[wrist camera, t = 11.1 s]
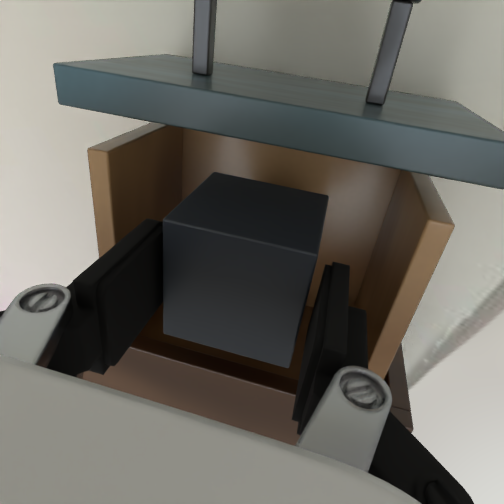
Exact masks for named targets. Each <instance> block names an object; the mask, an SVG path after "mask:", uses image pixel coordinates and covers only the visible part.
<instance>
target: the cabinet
mask: <svg viewBox="0 0 504 504" xmlns="http://www.w3.org/2000/svg"><path fill="white" fill-rule="evenodd" d="M82 379H83V380H86V381H89V382H93V383H96V384H99V385H102V386H106V387H109V388H112V389H115V390H119V391H122V392H125V393H128V394H132V395H135V396H138V397H141V398H144V399H148V400H151V401H154V402H157V403H161V404H164V405H167V406H170V407H173V408H177V409H180V410H183V411H186V412H189V413H193V414H196V415H199V416H202V417H205V418H208V419H212V420H215V421H218V422H221V423H224V424H227V425H231V426H234V427H237V428H240V429H243V430H246V431H250V432H253V433H256V434H259V435H262V436H265V437H269V438H272V439H275V440H278V441H281V442H284V443H287V444H290V445H293V446H295V445H296V443H297V441H298V439H299V437H300V435H298V434H297V428H298V422H297V421H293V420H292V415H293V409H294V403H295V397H296V392H297V386H298V380H296V379H293V378H289V377H286V376H282V375H279V374H275V373H272V372H268V371H265V370H261V369H258V368H254V367H251V366H247V365H244V364H240V363H236V362H233V361H229V360H226V359H222V358H219V357H215V356H212V355H208V354H205V353H201V352H198V351H194V350H191V349H187V348H184V347H180V346H177V345H173V344H169V343H166V342H162V341H159V340H155V339H152V338H148V337H145V336H141V335H138V336H137V337H136V339H135V340H134V341H133V343H132V344H131V346H130V347H129V348H128V350H127V351H126V352H125V354H124V355H123V356H122V358H121V359H120V360H119V362H118V363H117V364H116V365H115V366H110V367H109V368H108V370H107V371H106V372H105V374H104V375H101V374H98V373H95V372H92V371H86V372H84V374H83V378H82ZM384 381H385V382H386V384H387V385H388V387H389V388H390V391H391V394H392V404H391V407H390V410H389V411H390V412H391V413H392V414H393V415H394V416H395V417H396V418H397V419H398V420H399V421H400V422H401V423H402V424H403V425H404V426H405V427H406V428H407V429H408V430H409V431H410V433H412V431H413V423H412V416H411V410H410V409H411V408H410V401H409V395H408V387H407V380H406V373H405V366H404V359H403V352H402V345H401V344H400V346H399V348H398V350H397V352H396V354H395V357H394V359H393V361H392V363H391V365H390V367H389V369H388V372H387V374H386V376H385V378H384Z"/></svg>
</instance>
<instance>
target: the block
mask: <svg viewBox="0 0 504 504" xmlns="http://www.w3.org/2000/svg"><path fill="white" fill-rule="evenodd" d="M328 200H329V196H328V195H324V194H319V193H314V192H309V191H305V190H300V189H295V188H290V187H285V186H281V185H276V184H271V183H266V182H261V181H257V180H252V179H247V178H242V177H237V176H233V175H228V174H223V173H218V172H213V173H212V174H211V175H210V176H209V177H208V178H207V179H206V180H204V181H203V182H202V183H201V184H200V185H199V186H198V187H197V188H196V189H195V190H194V191H193V192H191V193H190V194H189V195H188V196H187V197H186V198H185V199H184V200H183V201H182V202H181V203H180V204H179V205H177V206H176V207H175V208H174V209H173V210H172V211H171V212H170V213H169V214H168V215H167V216H166V217H165V218H163V333H164V334H167V335H170V336H174V337H178V338H181V339H185V340H188V341H192V342H195V343H199V344H203V345H206V346H210V347H213V348H217V349H220V350H224V351H228V352H231V353H235V354H238V355H242V356H245V357H249V358H252V359H256V360H260V361H263V362H267V363H270V364H274V365H277V366H281V367H285V368H289V367H290V364H291V360H292V356H293V352H294V348H295V344H296V340H297V337H298V333H299V329H300V325H301V321H302V317H303V313H304V309H305V305H306V302H307V298H308V294H309V290H310V286H311V282H312V278H313V274H314V270H315V267H316V263H317V259H318V254H319V249H320V243H321V238H322V233H323V227H324V222H325V216H326V211H327V205H328Z"/></svg>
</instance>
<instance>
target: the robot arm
mask: <svg viewBox="0 0 504 504" xmlns="http://www.w3.org/2000/svg"><path fill="white" fill-rule="evenodd" d="M349 277H350V265H346V264H342V263H337V262H332V265H327V264H325V267H324V271H323V274H322V278H321V282H320V285H319V289H318V293H317V296H316V300H315V304H314V307H313V311H312V315H311V318H310V322H309V326H308V330H307V335H306V340H305V346H304V352H303V357H302V363H301V369H300V375H299V380H298V386H297V392H296V397H295V403H294V409H293V415H292V420H293V421H297V422H298V428H297V434H298V435H300V437H299V439H298V441H297V443H296V445H295V446H293V445H290V444H287V443H284V442H281V441H278V440H275V439H272V438H269V437H265V436H262V435H259V434H256V433H253V432H250V431H246V430H243V429H240V428H237V427H234V426H231V425H227V424H224V423H221V422H218V421H215V420H212V419H208V418H205V417H202V416H199V415H196V414H193V413H189V412H186V411H183V410H180V409H177V408H173V407H170V406H167V405H164V404H161V403H157V402H154V401H151V400H148V399H144V398H141V397H138V396H135V395H132V394H128V393H125V392H122V391H119V390H115V389H112V388H109V387H106V386H102V385H99V384H96V383H93V382H89V381H86V380H83V379H82V378H83V374H84V372H86V371H92V372H95V373H98V374H101V375H104V374H105V372H106V371H107V370H108V368H109V367H110V366H115V365H116V364H117V363H118V362H119V360H120V359H121V358H122V356H123V355H124V354H125V352H126V351H127V350H128V348H129V347H130V346H131V344H132V343H133V341H134V340H135V339H136V337H137V336H138V335H139V333H140V332H141V331H142V329H143V328H144V327H145V325H146V324H147V323H148V321H149V320H150V319H151V317H152V316H153V315H154V313H155V312H156V310H157V309H158V308H159V306H160V305H161V304H162V302H163V222H162V221H157V220H153V219H149V218H147V219H145V220H144V221H143V222H141V223H140V224H139V225H138V226H137V227H135V228H134V229H133V230H132V231H131V232H130V233H128V234H127V235H126V236H125V237H124V238H123V239H121V240H120V241H119V242H118V243H117V244H115V245H114V246H113V247H112V248H111V249H110V250H108V251H107V252H106V253H105V254H104V255H103V256H101V257H100V258H99V259H98V260H97V261H95V262H94V263H93V264H92V265H91V266H90V267H88V268H87V269H86V270H85V271H84V272H82V273H81V274H80V275H79V276H78V277H77V278H75V279H74V280H73V282H72V283H71V284H70V285H69V286H67V287H64V286H62V285H58V284H41V285H36V286H33V287H30V288H28V289H26V290H24V291H22V292H21V293H19V294H18V295H17V296H16V297H15V298H14V300H13V301H12V303H11V304H10V305H9V307H8V308H7V309H6V310H5V311H0V504H474V503H473V501H472V499H471V497H470V496H469V494H468V493H467V492H466V491H465V489H464V488H463V487H462V486H461V485H460V484H459V483H458V482H457V481H456V480H455V478H454V477H453V476H452V475H451V474H450V473H449V472H448V471H447V470H446V469H445V468H444V467H443V466H442V465H441V464H440V463H439V462H438V461H437V460H436V459H435V458H434V457H433V455H432V454H431V453H430V452H429V451H428V450H427V449H426V448H425V447H424V446H423V445H422V444H421V443H420V442H419V441H418V440H417V439H416V438H415V437H414V436H413V435H412V434H411V433H410V431H409V430H408V429H407V428H406V427H405V426H404V425H403V424H402V423H401V422H400V421H399V420H398V419H397V418H396V417H395V416H394V415H393V414H392V413H391V412H390V411H389V410H390V407H391V404H392V394H391V391H390V388H389V387H388V385H387V384H386V382H385V381H384V380H383V379H382V378H381V377H380V376H379V375H377V374H376V373H374V372H373V371H371V370H369V369H368V345H367V314H366V310H363V309H359V308H355V307H351V306H348V304H349Z"/></svg>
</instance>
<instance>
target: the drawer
mask: <svg viewBox="0 0 504 504" xmlns="http://www.w3.org/2000/svg"><path fill="white" fill-rule="evenodd" d="M420 2H421V0H393V1H392V2H391V4H390V8H389V12H388V15H387V19H386V23H385V27H384V30H383V34H382V38H381V42H380V45H379V49H378V53H377V57H376V60H375V64H374V68H373V72H372V76H371V79H370V83H369V87H365V86H358V85H352V84H346V83H340V82H334V81H328V80H322V79H315V78H309V77H303V76H297V75H291V74H285V73H279V72H272V71H266V70H260V69H254V68H248V67H242V66H236V65H229V64H223V63H217V62H213V58H214V42H215V25H216V9H217V0H194V27H193V56H192V58H186V57H180V56H174V55H168V54H162V55H149V56H137V57H124V58H111V59H99V60H86V61H74V62H61V63H54V64H53V68H54V75H55V82H56V89H57V96H58V102H59V104H61V105H66V106H71V107H76V108H81V109H87V110H92V111H97V112H102V113H107V114H113V115H118V116H123V117H128V118H133V119H139V120H144V121H149V122H152V123H149V124H147V125H144V126H142V127H139V128H137V129H134V130H132V131H129V132H127V133H124V134H122V135H120V136H117V137H115V138H112V139H110V140H107V141H105V142H102V143H100V144H97V145H95V146H92V147H90V148H88V150H87V151H88V160H89V170H90V179H91V188H92V197H93V206H94V215H95V224H96V233H97V242H98V251H99V258H100V257H101V256H103V255H104V254H105V253H106V252H107V251H108V250H110V249H111V248H112V247H113V246H114V245H115V244H117V243H118V242H119V241H120V240H121V239H123V238H124V237H125V236H126V235H127V234H128V233H130V232H131V231H132V230H133V229H134V228H135V227H137V226H138V225H139V224H140V223H141V222H143V221H144V220H145V219H147V218H149V219H153V220H157V221H162V222H163V218H165V217H166V216H167V215H168V214H169V213H170V212H171V211H172V210H173V209H174V208H175V207H176V206H177V205H179V204H180V203H181V202H182V201H183V200H184V199H185V198H186V197H187V196H188V195H189V194H190V193H191V192H193V191H194V190H195V189H196V188H197V187H198V186H199V185H200V184H201V183H202V182H203V181H204V180H206V179H207V178H208V177H209V176H210V175H211V174H212V173H213V172H218V173H223V174H228V175H233V176H237V177H242V178H247V179H252V180H257V181H261V182H266V183H271V184H276V185H281V186H285V187H290V188H295V189H300V190H305V191H309V192H314V193H319V194H324V195H328V196H329V200H328V205H327V211H326V216H325V222H324V227H323V233H322V238H321V243H320V249H319V254H318V259H317V263H316V267H315V270H314V274H313V278H312V282H311V286H310V290H309V294H308V298H307V302H306V305H305V309H304V313H303V317H302V321H301V325H300V329H299V333H298V337H297V340H296V344H295V348H294V352H293V356H292V360H291V364H290V367H289V368H285V367H281V366H277V365H274V364H270V363H267V362H263V361H260V360H256V359H252V358H249V357H245V356H242V355H238V354H235V353H231V352H228V351H224V350H220V349H217V348H213V347H210V346H206V345H203V344H199V343H195V342H192V341H188V340H185V339H181V338H178V337H174V336H170V335H167V334H164V333H163V302H162V304H161V305H160V306H159V308H158V309H157V310H156V312H155V313H154V315H153V316H152V317H151V319H150V320H149V321H148V323H147V324H146V325H145V327H144V328H143V329H142V331H141V332H140V333H139V335H141V336H145V337H148V338H152V339H155V340H159V341H162V342H166V343H169V344H173V345H177V346H180V347H184V348H187V349H191V350H194V351H198V352H201V353H205V354H208V355H212V356H215V357H219V358H222V359H226V360H229V361H233V362H236V363H240V364H244V365H247V366H251V367H254V368H258V369H261V370H265V371H268V372H272V373H275V374H279V375H282V376H286V377H289V378H293V379H296V380H299V375H300V369H301V363H302V357H303V352H304V346H305V340H306V335H307V330H308V326H309V322H310V318H311V315H312V311H313V307H314V304H315V300H316V296H317V293H318V289H319V285H320V282H321V278H322V274H323V271H324V267H325V264H327V265H332V262H337V263H342V264H346V265H350V277H349V304H348V306H351V307H355V308H359V309H363V310H366V314H367V345H368V369H369V370H371V371H373V372H374V373H376V374H377V375H379V376H380V377H381V378H382V379H383V380H384V378H385V376H386V374H387V372H388V369H389V367H390V365H391V363H392V361H393V359H394V357H395V354H396V352H397V350H398V348H399V346H400V344H401V341H402V339H403V337H404V335H405V333H406V331H407V328H408V326H409V324H410V322H411V320H412V318H413V315H414V313H415V311H416V309H417V307H418V305H419V302H420V300H421V298H422V296H423V294H424V292H425V289H426V287H427V285H428V283H429V281H430V279H431V276H432V274H433V272H434V270H435V268H436V266H437V264H438V261H439V259H440V257H441V255H442V253H443V251H444V248H445V246H446V244H447V242H448V240H449V238H450V235H451V233H452V231H453V229H454V227H455V225H454V223H453V221H452V219H451V217H450V215H449V213H448V211H447V209H446V207H445V205H444V203H443V202H442V200H441V198H440V196H439V194H438V192H437V190H436V188H435V186H434V184H433V182H432V180H431V178H430V177H429V175H430V176H435V177H440V178H445V179H451V180H456V181H461V182H466V183H471V184H477V185H482V186H487V187H492V188H497V189H504V131H502V130H500V129H499V128H497V127H496V126H494V125H493V124H491V123H489V122H488V121H486V120H485V119H483V118H482V117H480V116H478V115H477V114H475V113H474V112H472V111H471V110H469V109H467V108H466V107H464V106H463V105H461V104H459V103H458V102H456V101H451V100H445V99H438V98H432V97H426V96H420V95H414V94H408V93H402V92H395V91H389V90H388V89H389V86H390V83H391V79H392V76H393V72H394V69H395V66H396V62H397V59H398V55H399V52H400V48H401V45H402V42H403V38H404V35H405V31H406V28H407V25H408V21H409V18H410V14H411V11H412V7H413V3H420Z"/></svg>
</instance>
